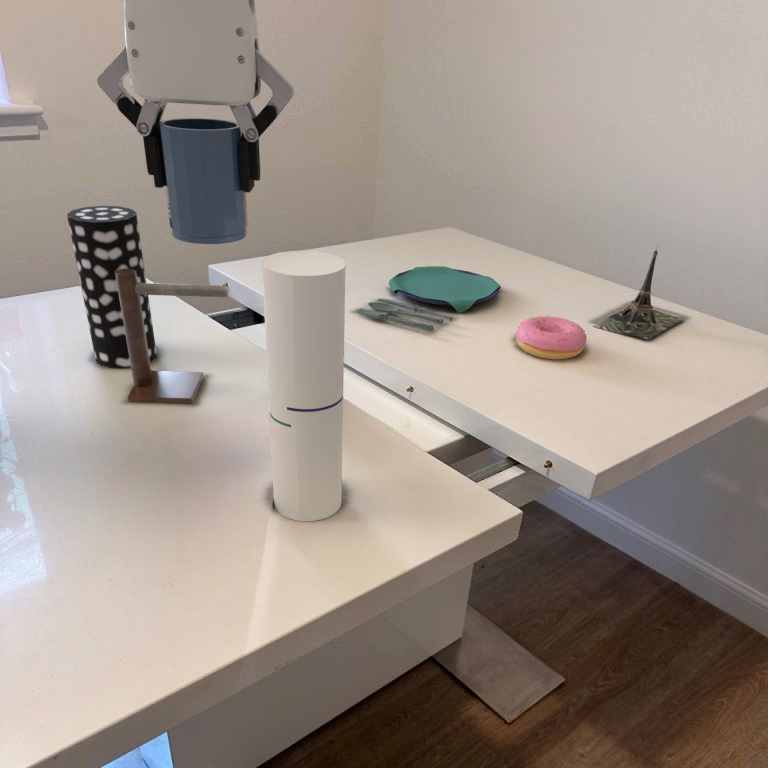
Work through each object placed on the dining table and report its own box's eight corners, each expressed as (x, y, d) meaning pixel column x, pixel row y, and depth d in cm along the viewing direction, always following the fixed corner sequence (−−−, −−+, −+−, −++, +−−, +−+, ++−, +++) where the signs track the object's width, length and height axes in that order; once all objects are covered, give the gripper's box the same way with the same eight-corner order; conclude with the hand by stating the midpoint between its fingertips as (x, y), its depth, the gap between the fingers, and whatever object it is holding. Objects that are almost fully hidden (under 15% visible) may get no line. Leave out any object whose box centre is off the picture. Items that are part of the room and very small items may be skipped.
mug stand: (127, 407, 91) (105, 281, 82) (143, 380, 98) (124, 261, 89) (232, 410, 92) (221, 286, 83) (240, 383, 98) (232, 265, 89)
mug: (241, 246, 63) (233, 132, 58) (163, 242, 63) (149, 127, 58) (258, 216, 72) (253, 114, 67) (190, 212, 72) (180, 110, 67)
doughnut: (528, 365, 108) (533, 338, 106) (504, 337, 117) (507, 312, 114) (595, 361, 110) (601, 336, 108) (566, 334, 119) (571, 310, 116)
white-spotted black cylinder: (125, 345, 107) (100, 202, 95) (169, 357, 104) (150, 212, 93) (83, 364, 101) (52, 215, 89) (129, 378, 98) (103, 225, 86)
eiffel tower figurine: (648, 343, 117) (671, 260, 110) (592, 326, 123) (610, 246, 115) (684, 321, 127) (707, 243, 119) (631, 306, 132) (650, 230, 124)
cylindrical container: (332, 525, 73) (334, 279, 58) (265, 515, 74) (250, 270, 59) (347, 487, 79) (353, 255, 64) (284, 479, 79) (276, 247, 65)
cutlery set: (515, 292, 135) (517, 280, 134) (439, 340, 114) (441, 326, 113) (424, 271, 144) (425, 259, 142) (337, 311, 123) (337, 298, 121)
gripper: (304, -60, 57) (307, 183, 67) (82, -74, 56) (119, 173, 66) (295, -68, 50) (299, 201, 61) (45, -84, 50) (93, 191, 60)
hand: (205, 185), depth 64 cm, fingers closed on mug, 6 cm apart
